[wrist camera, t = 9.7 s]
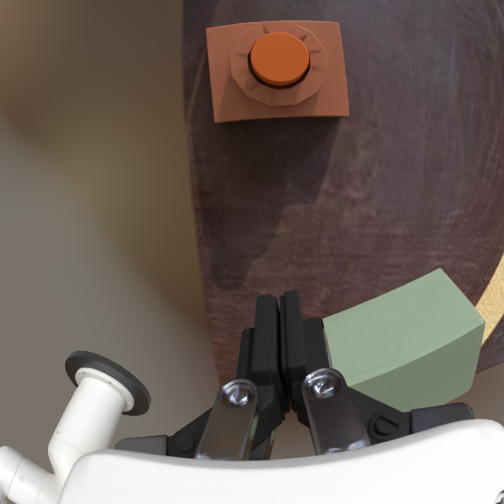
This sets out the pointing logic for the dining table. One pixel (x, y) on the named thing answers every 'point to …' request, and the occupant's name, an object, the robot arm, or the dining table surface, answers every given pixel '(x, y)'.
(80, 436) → the robot arm
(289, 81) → the button
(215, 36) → the control block
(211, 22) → the dining table surface
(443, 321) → the fryer
